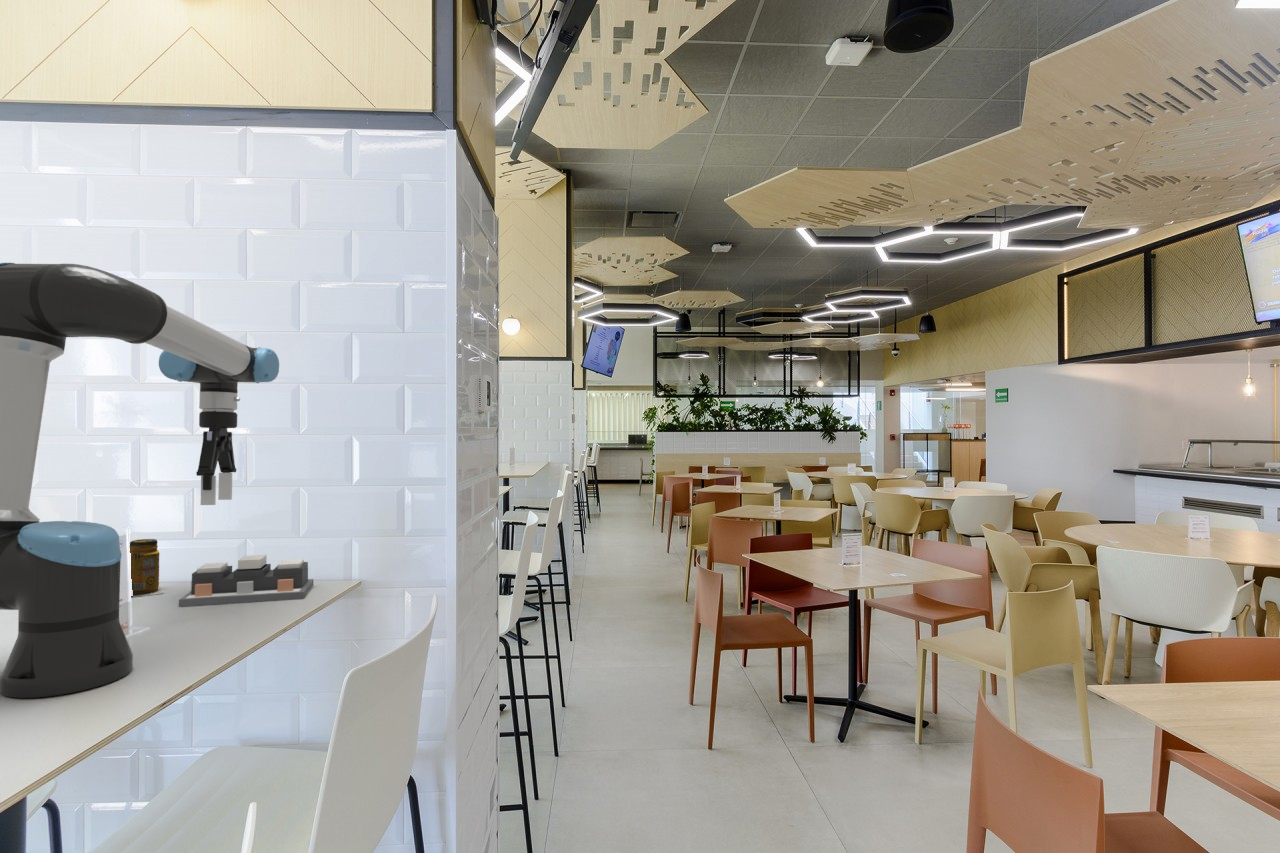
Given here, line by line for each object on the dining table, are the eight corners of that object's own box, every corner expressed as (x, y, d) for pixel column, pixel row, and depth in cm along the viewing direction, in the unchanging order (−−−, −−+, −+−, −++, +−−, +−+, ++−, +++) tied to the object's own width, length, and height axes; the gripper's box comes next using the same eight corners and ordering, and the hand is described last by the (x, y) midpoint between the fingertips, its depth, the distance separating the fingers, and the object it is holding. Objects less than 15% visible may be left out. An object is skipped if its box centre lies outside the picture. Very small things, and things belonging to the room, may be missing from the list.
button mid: (237, 569, 151) (238, 560, 151) (244, 564, 156) (244, 555, 156) (260, 568, 152) (260, 559, 152) (266, 563, 158) (266, 554, 158)
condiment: (160, 587, 160) (160, 537, 160) (163, 594, 154) (163, 541, 154) (121, 591, 156) (122, 540, 156) (122, 599, 149) (123, 545, 149)
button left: (196, 577, 148) (196, 568, 148) (205, 572, 154) (205, 563, 154) (220, 576, 150) (220, 567, 150) (227, 571, 155) (227, 562, 155)
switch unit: (178, 606, 142) (179, 578, 142) (199, 591, 156) (200, 565, 156) (303, 598, 150) (303, 571, 150) (313, 585, 163) (313, 560, 163)
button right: (277, 573, 153) (277, 564, 153) (282, 568, 159) (283, 559, 159) (299, 572, 154) (299, 563, 154) (303, 567, 160) (303, 559, 160)
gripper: (221, 409, 146) (220, 506, 145) (249, 413, 169) (248, 497, 169) (181, 408, 143) (179, 507, 143) (215, 412, 167) (214, 497, 167)
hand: (216, 502), depth 156 cm, fingers open, 13 cm apart
